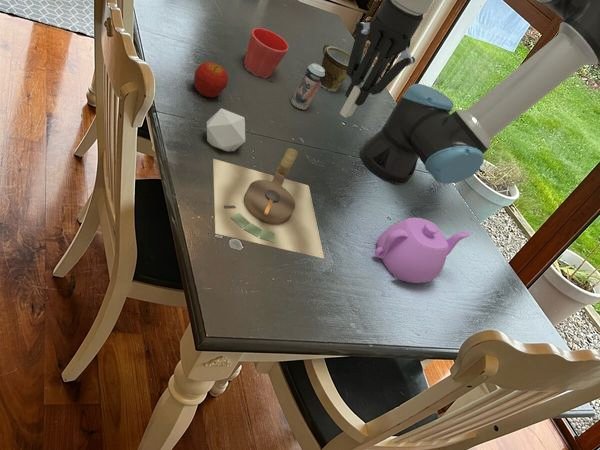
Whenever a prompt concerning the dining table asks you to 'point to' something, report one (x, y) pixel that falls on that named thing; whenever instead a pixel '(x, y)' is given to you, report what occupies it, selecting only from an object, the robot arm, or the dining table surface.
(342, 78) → the ceramic cup
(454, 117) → the robot arm
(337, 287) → the dining table surface
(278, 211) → the dial
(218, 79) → the apple
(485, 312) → the dining table surface
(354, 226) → the dining table surface
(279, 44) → the flower pot
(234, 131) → the die
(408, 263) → the teapot
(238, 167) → the board
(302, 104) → the beer can
